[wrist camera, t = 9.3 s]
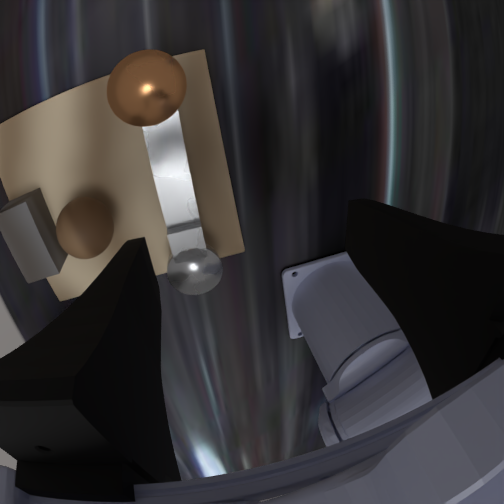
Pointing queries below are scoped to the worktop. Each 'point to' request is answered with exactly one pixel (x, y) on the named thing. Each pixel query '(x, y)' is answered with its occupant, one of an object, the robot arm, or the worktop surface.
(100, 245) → the brown ball
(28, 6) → the worktop surface
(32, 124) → the beige square panel
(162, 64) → the lever
